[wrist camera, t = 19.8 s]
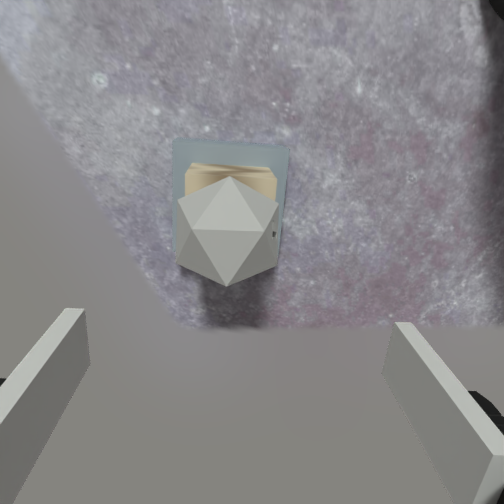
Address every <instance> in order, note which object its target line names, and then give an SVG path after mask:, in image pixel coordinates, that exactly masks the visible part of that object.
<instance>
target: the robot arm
mask: <svg viewBox="0 0 504 504" xmlns="http://www.w3.org/2000/svg"><path fill="white" fill-rule="evenodd" d="M489 1H490V3H491V5H492V6H493V8H494V10H495V11H496V12H497V14H498V15H499V16H500V17H501V18H502V19H503V20H504V0H489ZM89 365H90V357H89V346H88V337H87V326H86V316H85V309H76V308H65V309H64V311H63V312H62V313H61V314H60V315H59V317H58V318H57V319H56V320H55V321H54V323H53V324H52V325H51V326H50V327H49V329H48V330H47V331H46V332H45V333H44V335H43V336H42V337H41V338H40V339H39V341H38V342H37V343H36V344H35V346H34V347H33V348H32V349H31V350H30V352H29V353H28V354H27V355H26V356H25V358H24V359H23V360H22V361H21V362H20V364H19V365H18V366H17V367H16V368H15V370H14V371H13V372H12V373H11V374H10V376H9V377H8V378H7V379H2V378H0V504H13V502H14V500H15V498H16V497H17V495H18V493H19V491H20V490H21V488H22V486H23V484H24V482H25V481H26V479H27V477H28V475H29V473H30V471H31V470H32V468H33V466H34V464H35V462H36V460H37V459H38V457H39V455H40V453H41V452H42V450H43V448H44V446H45V445H46V443H47V441H48V439H49V437H50V436H51V434H52V432H53V430H54V428H55V427H56V425H57V423H58V421H59V419H60V417H61V416H62V414H63V412H64V410H65V408H66V407H67V405H68V403H69V401H70V399H71V398H72V396H73V394H74V392H75V390H76V389H77V387H78V385H79V383H80V381H81V380H82V378H83V376H84V374H85V372H86V371H87V369H88V367H89ZM382 375H383V377H384V379H385V380H386V382H387V384H388V386H389V388H390V389H391V391H392V393H393V395H394V396H395V399H396V400H397V402H398V404H399V406H400V408H401V409H402V411H403V413H404V415H405V417H406V418H407V420H408V422H409V424H410V426H411V427H412V429H413V431H414V433H415V435H416V436H417V438H418V440H419V442H420V444H421V446H422V447H423V449H424V451H425V453H426V455H427V456H428V458H429V460H430V462H431V463H432V465H433V467H434V469H435V471H436V472H437V474H438V476H439V478H440V480H441V482H442V483H443V485H444V487H445V489H446V491H447V492H448V494H449V496H450V498H451V500H452V501H453V503H454V504H504V417H503V416H501V413H500V412H499V411H498V410H497V409H496V408H495V406H494V405H493V404H492V403H491V402H490V401H489V400H487V399H486V398H485V397H483V396H482V395H480V394H479V393H478V392H476V391H467V390H466V389H465V388H464V387H463V385H462V384H461V383H460V382H459V380H458V379H457V378H456V377H455V376H454V374H453V373H452V372H451V371H450V369H449V368H448V367H447V366H446V365H445V363H444V362H443V361H442V360H441V358H440V357H439V356H438V355H437V353H436V352H435V351H434V350H433V349H432V347H431V346H430V345H429V344H428V343H427V341H426V340H425V339H424V338H423V336H422V335H421V334H420V333H419V331H418V330H417V329H416V328H415V327H414V325H413V324H412V323H407V322H394V325H393V329H392V333H391V337H390V342H389V345H388V350H387V354H386V357H385V362H384V365H383V369H382Z"/></svg>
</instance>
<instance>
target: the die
mask: <svg viewBox="0 0 504 504" xmlns="http://www.w3.org/2000/svg"><path fill="white" fill-rule="evenodd" d="M278 219H279V203H277V202H275V201H273V200H272V199H270V198H268V197H266V196H265V195H263V194H261V193H259V192H257V191H256V190H254V189H252V188H250V187H248V186H247V185H245V184H243V183H241V182H239V181H238V180H236V179H234V178H232V177H230V176H229V177H226V178H224V179H222V180H220V181H218V182H215V183H213V184H211V185H209V186H207V187H204V188H202V189H200V190H198V191H195V192H193V193H191V194H189V195H187V196H184V197H182V198H180V199H178V200H177V230H176V263H177V264H179V265H181V266H183V267H185V268H187V269H190V270H192V271H194V272H196V273H198V274H200V275H202V276H205V277H207V278H209V279H211V280H213V281H215V282H217V283H220V284H222V285H224V286H226V287H227V286H230V285H232V284H234V283H237V282H239V281H242V280H244V279H246V278H249V277H251V276H254V275H256V274H258V273H261V272H263V271H265V270H268V269H270V268H273V267H275V266H277V254H278Z"/></svg>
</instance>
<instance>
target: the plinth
mask: <svg viewBox="0 0 504 504" xmlns="http://www.w3.org/2000/svg"><path fill="white" fill-rule="evenodd" d="M289 153H290V149H289V148H287V147H286V146H283V145H269V144H256V143H242V142H229V141H215V140H202V139H188V138H176V139H175V140H173V252H176V230H177V200H178V199H180V198H182V197H184V196H185V173H186V172H187V170H188V169H189V167H190V165H191V164H192V163H202V164H219V165H235V166H252V167H268V168H270V170H271V171H272V173H273V174H274V176H275V177H276V178H277V188H276V199H275V202H277V203H279V219H278V254H279V244H280V235H281V226H282V217H283V208H284V199H285V189H286V180H287V171H288V162H289ZM278 254H277V257H278Z"/></svg>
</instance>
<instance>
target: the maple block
mask: <svg viewBox="0 0 504 504" xmlns="http://www.w3.org/2000/svg"><path fill="white" fill-rule="evenodd" d="M229 176H230V177H232V178H234V179H236V180H238V181H239V182H241V183H243V184H245V185H247V186H248V187H250V188H252V189H254V190H256V191H257V192H259V193H261V194H263V195H265V196H266V197H268V198H270V199H272V200H273V201H275V199H276V188H277V178H276V177H275V176H274V174H273V173H272V171H271V170H270V168H268V167H252V166H235V165H219V164H202V163H192V164H191V165H190V167H189V169H188V170H187V172H186V173H185V196H187V195H189V194H191V193H193V192H195V191H198V190H200V189H202V188H204V187H207V186H209V185H211V184H213V183H215V182H218V181H220V180H222V179H224V178H226V177H229Z"/></svg>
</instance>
